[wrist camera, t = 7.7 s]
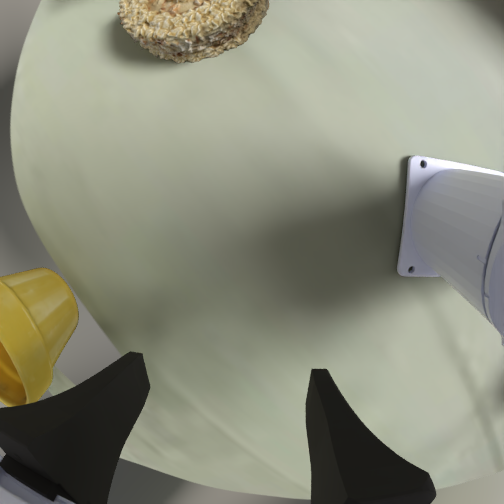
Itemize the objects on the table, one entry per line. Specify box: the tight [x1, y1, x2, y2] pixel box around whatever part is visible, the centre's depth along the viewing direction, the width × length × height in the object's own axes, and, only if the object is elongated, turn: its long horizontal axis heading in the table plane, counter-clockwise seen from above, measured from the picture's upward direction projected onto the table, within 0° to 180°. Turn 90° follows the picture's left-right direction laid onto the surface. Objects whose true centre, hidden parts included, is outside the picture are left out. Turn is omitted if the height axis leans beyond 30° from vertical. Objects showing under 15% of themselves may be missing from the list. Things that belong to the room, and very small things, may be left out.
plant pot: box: [0, 268, 79, 407], centre depth 18 cm, size 10×10×10 cm
